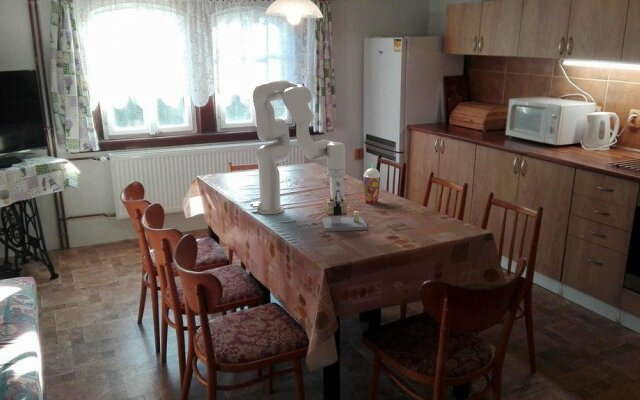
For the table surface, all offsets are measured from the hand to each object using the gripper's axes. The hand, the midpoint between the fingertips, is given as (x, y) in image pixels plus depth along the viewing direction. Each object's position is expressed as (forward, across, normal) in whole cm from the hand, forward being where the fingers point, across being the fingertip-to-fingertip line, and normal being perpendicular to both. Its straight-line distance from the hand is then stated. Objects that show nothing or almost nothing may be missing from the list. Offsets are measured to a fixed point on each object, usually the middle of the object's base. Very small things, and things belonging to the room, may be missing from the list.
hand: (336, 212), depth 230 cm
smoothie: (+6, +33, -22) cm, 40 cm away
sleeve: (+1, 0, 0) cm, 1 cm away
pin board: (+6, 0, -3) cm, 7 cm away
